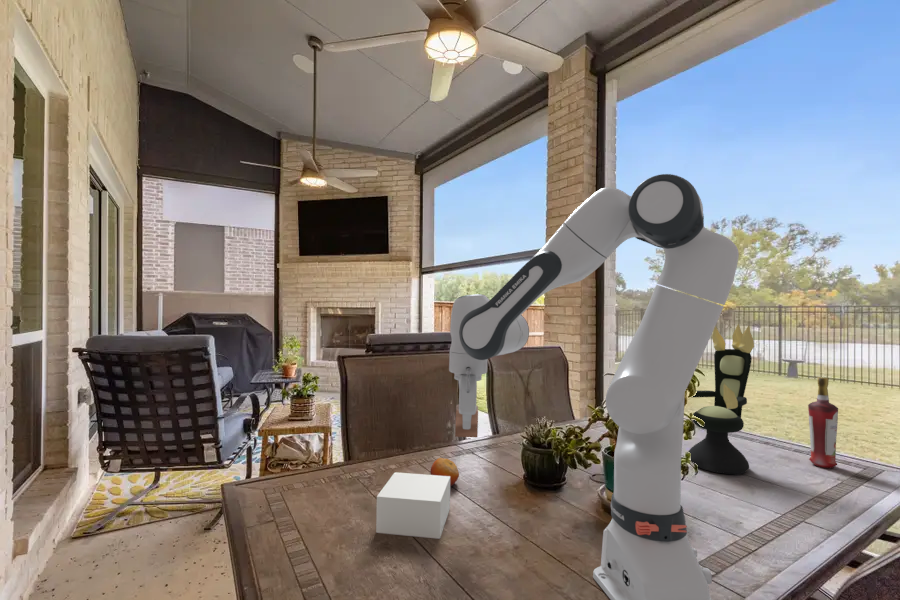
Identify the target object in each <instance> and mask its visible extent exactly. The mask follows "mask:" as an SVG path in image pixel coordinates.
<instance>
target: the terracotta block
mask: <svg viewBox="0 0 900 600" xmlns="http://www.w3.org/2000/svg"><path fill="white" fill-rule="evenodd" d="M478 429H479V406H478V405H476V413H475V414H474V415H472V417H471V428H470V429H463V417H462V414H460V413H459V404H456V406H455V429H454V431H455V432H454V433H455V434H454V435H455V436H454V437H456V438H457V437H458V438H478V436H479V435H478V433H479V430H478Z"/></svg>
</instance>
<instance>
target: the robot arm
mask: <svg viewBox="0 0 900 600" xmlns="http://www.w3.org/2000/svg"><path fill="white" fill-rule="evenodd" d="M702 202H703V201H702V199H701V197H700V196H699V194H698V192H697V189H696V188H695V187H694V185H693V184H692V183H691V182H690V181H689V180H687V179H685V178H684V177H681V176H679V175H677V174H673V173H665V174H664V173H663V174H662V173H661V174H657V175H654V176H651V177H648V178H646V179H645V180H643V181H642V182H641V183H640V184H639V185H638V186H636V188H635V189H634V191H633V192H632V194H631V195H629V194H628V193H626V192H624V191H623V190H621V189H619V188H614V187H609V186H608V187H606V186H605V187H603V188H602V187H601V188H600V189H598V190H597V191H595V192H594V193H593V194H591V195H590V196H589V197H588V198H587V199H585V200H584V201H583V202H581V204H580V205H579V206H577V208H575V210H574V211H572V213H570V215H569V216H568V218H566V219H565V221H564V222H563V223H562V224H561V225H560V226H559V227H558V228H557V230H556V231H555V232H554V234H552V236H551V237H550V238H549V239H548V240H547V241H546V243H545V244H544V245H543V246H542V247H541V249H539V250H538V251H537V252H536V253H535V255H533V256H532V257H531V259H530V260H528V261H527V262H526V263H525V264H524V265H523V266H522V267H521V268H520V269H519V270H518V271H517V272H516V273H515V274H514V275H513V276H512V277H511V278H510V279H509V280H508V281H507V282H506V283H505V284H504V285H503V286H502V287H501V288H500V289H499V290H498V291H497V292H496V293H495V295H494V296H493V297H491V299H490V298H489V297H487V295H484V294H481V293H480V294H479V293H474V294H466V295H462V296H459V297H457V298H455V300H454V302H453V305H452V308H451V313H450V314H451V315H450V326H449V327H450V329H449V331H450V337H451V344H450V347H449V358H448V359H449V360H448V361H449V362H448V363H449V365H448V371H449V373H452V374H454V377H453V378H454V380H456V381H458V389H459V392H458V393H459V395H458V397H459V398H458V405H459V413H460V414H462V417H463V429H470V428H471V417H472V415H474V414H475V413H476V406H477V393H478V391H477V390H478V389H477V388H478V384H477V383H478V382H480V381H482V378H483V377H482V375H486V374H487V373H488V362H489V361H488V360H490V359H491V358H494V357H497V356H503V355H507V354H511V353H514V352H518V351H519V350H522V348H524V347H525V346H526V344H527V342H528V341H529V337H530V327H529V323H528V321H527V320H526V318H525V317H524V316H523V314H524V313H525V312H526V311H527V310H528V309H529V308H530V307H531V306H532V305H533V304H534V303H535V302H536V301H537V300H538V299H539V298H540V297H542V296H543V295H544V294H546V293H548V292H550V291H552V290H554V289H557V288H560V287H563V286H566V285H571V284H575V283H578V282H581V281H583V280H584V279H586V278H587V277H589V275H591V274H593V273H594V272H595V271H596V270H597V269H598V268H600V267H601V266H602V265H603V264H604V262H605V261H606V260H607V259H608V258H610V256H611V255H612V254H614V252H615V250H617V249H618V248H619V247H620V246H621V245H622V244H623V243H624V242H625V241H627V240H630V239H632V238H635V239H637V240H639V241H641V242H645V243H647V244H650V245H652V246H654V247H657V248H659V249H660V248H661V249H663V250H664V255H665V256H664V263H663V268H662V270H661V272H660V275H659V276H658V279H657V282H656V285H655V287H654V289H653V292H652V294H651V297H650V299H649V301H648V305H647V306H646V309H645V311H644V314H643V317H642V319H641V321H640V324H639V325H638V328H637V329H636V331H635V334H634V335H633V337H632V339H631V340H630V343H629V344H628V346H627V349H626V351H625V352H624V354H623V356H622V358H621V360H620V363H619V364H618V367H617V368H616V370H615V372H614V374H613V377H612V379H611V382H610V383H609V385H608V388H607V391H606V394H605V407H606V410H607V411H606V412H607V413H608V415H609V418H611V420H612V421H613V423H615V424H616V425H617V426H618V431H617V439H616V445H615V449H614V453H613V454H614V456H613V458H614V459H613V462H614V463H613V465H614V466H613V467H614V469H613V493H612V495H611V499H610V500H611V501H610V515H611V521H610V522H609V524H608V525H607V526H606V527H605V528H604V529H603V532H602V533H603V534H602V545H601V546H602V547H601V556H600V557H601V560H600V566H598V567H596V568H594V570H593V572H592V574H593V575H592V578H593V579H594V581H595V582H596V583H597V585H598V586H599V587H600V588H601V590H603V592H604V593H605V594H606V596H607V597H608V598H609V599H610V600H713V598H712V597H711V592H710V588H709V585H711V584H712V582H713V578H712V573H711V570H710V569H709V568H708V567H702V566H701V565H700V563H699V561H698V551H697V549H696V548H695V547H692V546H691V542H690V540H689V538H688V537H687V533H688V530H687V527H688V526H687V524H686V523H687V521H686V516H685V514H684V507H683V505H682V504H681V501H682V497H681V495H682V494H681V493H682V485H681V484H682V482H681V481H682V479H681V478H682V477H681V476H682V475H681V474H682V470H681V469H682V451H683V438H684V420H685V419H684V417H685V398H686V397H685V391H686V389H688V386H689V384H690V382H691V380H692V377H693V376H694V373H695V371H696V369H697V367H698V365H699V363H700V361H701V358H702V357H703V354H704V352H705V350H706V348H707V345H708V344H709V341H710V339H711V338H712V334H713V330H714V328H715V326H716V325H717V323H718V321H719V319H720V316H721V314H722V311H723V309H724V306H725V305H726V303H727V300H728V298H729V295H730V293H731V292H730V291H731V290H732V286H733V284H734V283H733V282H734V280H735V276H736V272H737V268H738V263H739V257H740V256H739V255H740V254H739V253H740V252H739V249H738V247H737V245H736V244H735V242H733V241H732V240H731V239H730V238H729V237H726V236H725V235H722V234H720V233H717V232H714V231H711V230H709V229H707V228H706V227H705V226H704V224H705V222H704V221H705V219H704V218H705V216H704V215H705V214H704V206H703V203H702Z"/></svg>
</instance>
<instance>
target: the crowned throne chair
mask: <svg viewBox="0 0 900 600" xmlns="http://www.w3.org/2000/svg"><path fill="white" fill-rule="evenodd" d="M731 337H732V341H731V342H732V343H731V347H732V348H726V344H727V343H726V341H725V339H724V336H722V335H721V333H720V332H719V329H718V328H717V326H716V325H715V328H714V330H713V332H712V335H711V339H712V343H713V348H714V350H715V352H714V355H713V356H714V357H713V358H714V359H713V361H714V362H713V363H714V391H713V390H696V391H697V393H696V395H695V396H693V397H692V398H714V405H707V406H703V407H701V408H700V409H698V410H696V411H695V412H693V414H692V415H694V416H696V417H698V418H700V419H702V420H703V421H704V422H705V426H704V427H702V426H700V425H699V424H698V423H697V421H695V420H692V422H693V424H694V425H695V426H697V427H698V428H700V429H702V430H706V435H705V437H704V438H703V439H702V440H701V441H699V442H697V443H695V444H694V445H693V446H692V447H690V448H689V450H688V451H687V453H688V452H690V453H691V461H692V462H694V463H696V464H697V465H698V467H697V468H699V469H702V470H705V471H707V472H708V471H709V472H713V473H717V474H724V475H740V474H745V473H746V472H747V471H749V470H750V464H749V461H748V459H746V457H745V456H744V454H743V453H742V452H741V451H740V450H739V449H738V448H737V447H735V446H734V445H733V444H732V442H730V439H729V434H730V433H731V434H732V433H738V432H740V431H742V430H743V429H744V426H745V423H744V422H745V421H744V420H743V418H742V411H743V406H745V405H747V404H748V398H747V397H746V396H745V393H746V392H745V391H746V387H747V383H748V380H749V379H748V378H749V375H750V372H751V371H750V370H751V366H752V365H751V364H752V354H751V353H752V351H753V349H754V348H755V342H754V338H753V335H752V333H751V327H750V325H747V327H746V328H745V330H744V331H743V332H742V330H741V326H740V324H739V323H737V325H736V327H735V329H734V330H733V333H732V336H731Z"/></svg>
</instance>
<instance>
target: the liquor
mask: <svg viewBox="0 0 900 600" xmlns="http://www.w3.org/2000/svg"><path fill="white" fill-rule="evenodd" d="M817 386H818V389H817V398H816V401H813V402H810V403H809V404H807V408H808V423H809V425H808V426H809V440H810V441H809V442H810V443H809V445H810V457H809V458H808V460H809V461H810V462H811V463H812V465H813V466H816V467H818V468H823V469H833V468H834V467H836V466H838V462H837V460H836V458H837V457H836V454H837V451H836V450H837V435H838V434H837V433H838V422H839V421H838V419H839V408H838V407H837V406H836V405H835V404H833V403H831V402H830V398H829V390H828V387H829V377H824V376H823V377H822V376H817Z"/></svg>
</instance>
